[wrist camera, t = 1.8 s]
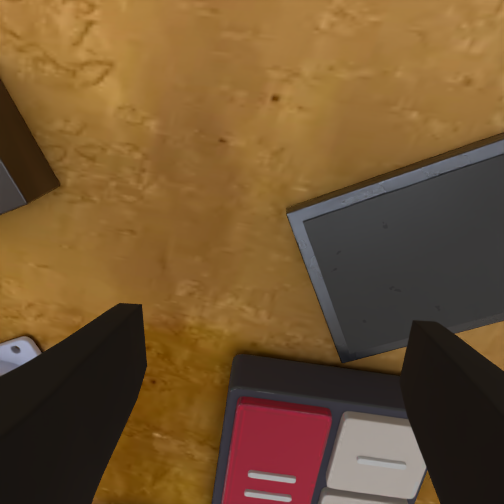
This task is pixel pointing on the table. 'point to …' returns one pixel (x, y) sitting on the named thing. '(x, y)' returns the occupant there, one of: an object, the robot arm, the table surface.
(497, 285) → the tablet
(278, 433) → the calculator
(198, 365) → the table surface
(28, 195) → the stand
